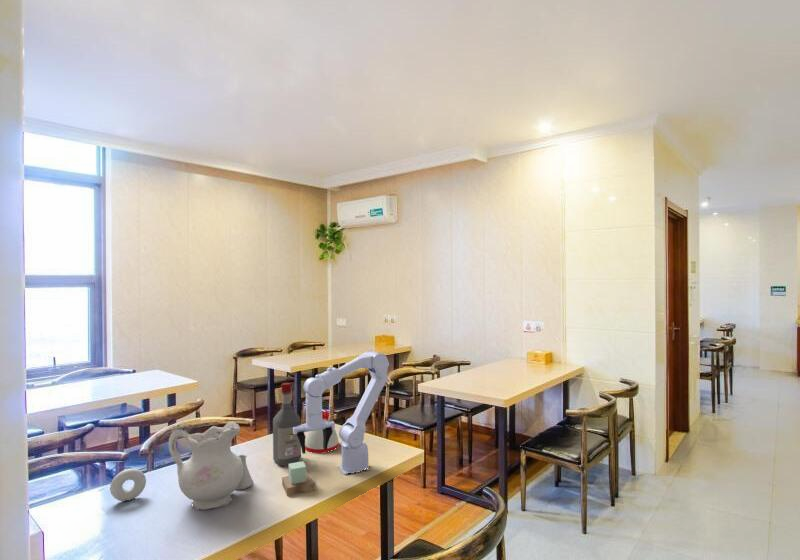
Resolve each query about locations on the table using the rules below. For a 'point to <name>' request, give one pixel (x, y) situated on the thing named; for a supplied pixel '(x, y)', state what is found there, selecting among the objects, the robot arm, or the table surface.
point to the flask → (245, 475)
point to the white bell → (320, 438)
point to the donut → (126, 475)
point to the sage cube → (297, 472)
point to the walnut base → (298, 485)
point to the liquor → (286, 431)
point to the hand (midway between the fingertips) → (314, 451)
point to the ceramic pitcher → (208, 465)
